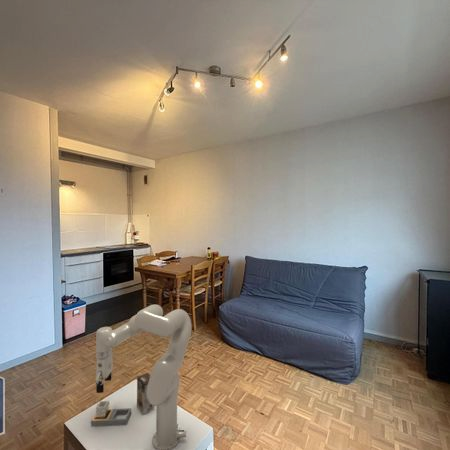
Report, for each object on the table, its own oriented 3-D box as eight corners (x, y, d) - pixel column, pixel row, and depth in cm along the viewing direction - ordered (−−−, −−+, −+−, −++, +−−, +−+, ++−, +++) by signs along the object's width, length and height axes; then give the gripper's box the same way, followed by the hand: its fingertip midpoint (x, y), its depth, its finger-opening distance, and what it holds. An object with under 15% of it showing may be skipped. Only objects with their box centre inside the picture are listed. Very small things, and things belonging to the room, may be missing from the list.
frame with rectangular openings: (131, 412, 130) (131, 407, 130) (126, 424, 122) (126, 419, 122) (98, 414, 129) (98, 409, 129) (91, 426, 121) (91, 421, 121)
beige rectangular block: (108, 416, 127) (108, 400, 128) (104, 423, 123) (105, 406, 123) (99, 416, 127) (99, 400, 127) (95, 423, 123) (96, 406, 123)
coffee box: (136, 406, 135) (136, 376, 135) (147, 400, 139) (147, 372, 140) (143, 415, 128) (143, 384, 129) (154, 409, 133) (155, 379, 133)
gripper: (104, 361, 117) (104, 397, 117) (117, 344, 134) (117, 375, 134) (88, 361, 117) (88, 398, 116) (103, 345, 134) (103, 376, 134)
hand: (104, 386), depth 125 cm, fingers open, 9 cm apart
